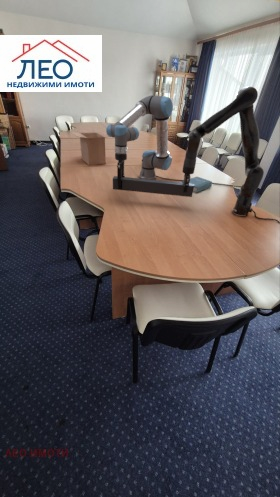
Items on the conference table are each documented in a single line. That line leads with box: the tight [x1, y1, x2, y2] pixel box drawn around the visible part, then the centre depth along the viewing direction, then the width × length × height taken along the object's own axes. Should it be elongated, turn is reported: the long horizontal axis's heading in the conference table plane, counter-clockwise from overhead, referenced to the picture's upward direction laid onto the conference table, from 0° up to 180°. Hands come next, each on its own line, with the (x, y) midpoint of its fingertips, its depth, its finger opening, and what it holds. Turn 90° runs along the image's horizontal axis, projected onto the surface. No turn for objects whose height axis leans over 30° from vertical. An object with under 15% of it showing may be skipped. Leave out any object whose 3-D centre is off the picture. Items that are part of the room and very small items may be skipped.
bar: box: [112, 175, 194, 198], centre depth 152 cm, size 55×5×8 cm, turn 84°
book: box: [181, 176, 213, 194], centre depth 191 cm, size 23×16×5 cm
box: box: [70, 129, 111, 166], centre depth 229 cm, size 44×36×27 cm
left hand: (120, 187), depth 155 cm, fingers closed on bar, 5 cm apart
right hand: (184, 190), depth 152 cm, fingers closed on bar, 5 cm apart
